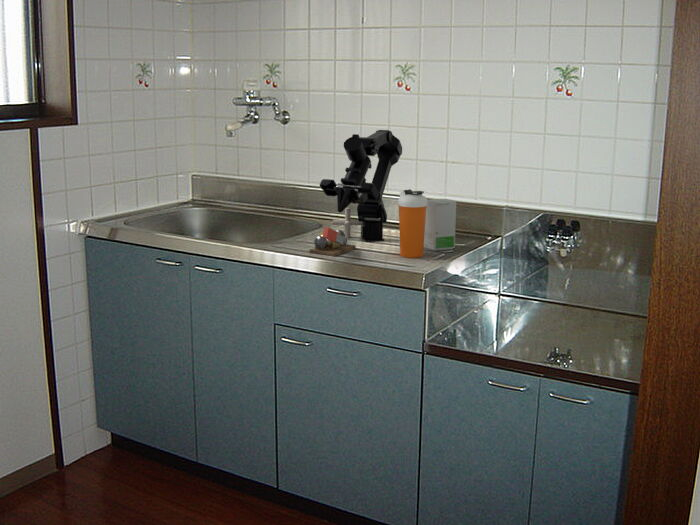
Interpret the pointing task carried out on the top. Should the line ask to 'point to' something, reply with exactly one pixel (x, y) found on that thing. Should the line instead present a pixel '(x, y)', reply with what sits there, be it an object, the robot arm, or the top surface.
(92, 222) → the top surface
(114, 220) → the top surface
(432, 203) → the skincare box
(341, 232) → the valve stand
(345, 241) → the valve lever
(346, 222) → the pipe connector
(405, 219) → the shaker bottle
